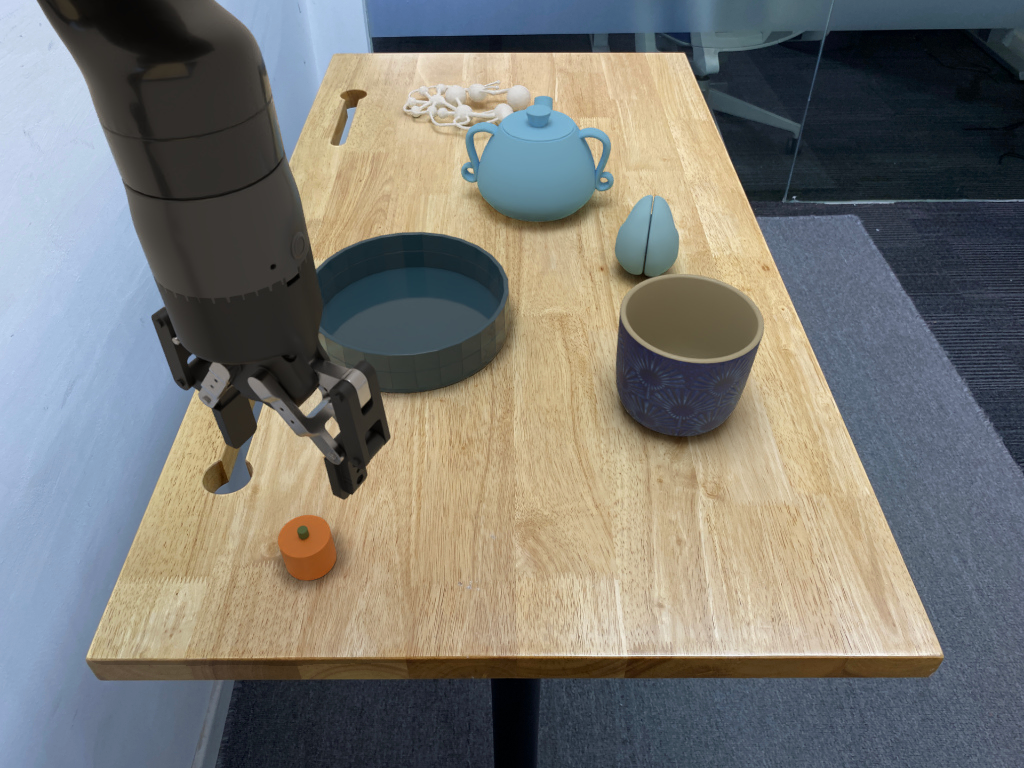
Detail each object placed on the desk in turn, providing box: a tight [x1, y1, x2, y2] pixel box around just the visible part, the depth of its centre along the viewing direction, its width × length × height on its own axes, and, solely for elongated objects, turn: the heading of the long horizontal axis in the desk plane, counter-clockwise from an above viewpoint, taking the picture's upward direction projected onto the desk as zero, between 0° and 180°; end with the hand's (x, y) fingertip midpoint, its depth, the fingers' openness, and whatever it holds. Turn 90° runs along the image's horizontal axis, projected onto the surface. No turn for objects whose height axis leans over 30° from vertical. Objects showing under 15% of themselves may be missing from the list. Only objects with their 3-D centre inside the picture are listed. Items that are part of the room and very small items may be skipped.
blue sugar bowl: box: [460, 95, 615, 223], centre depth 99 cm, size 20×20×13 cm
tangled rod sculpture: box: [402, 79, 532, 131], centre depth 119 cm, size 19×14×4 cm
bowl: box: [316, 231, 510, 394], centre depth 81 cm, size 21×21×5 cm
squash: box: [277, 514, 338, 581], centre depth 60 cm, size 4×4×4 cm
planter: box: [615, 273, 765, 437], centre depth 71 cm, size 12×12×11 cm
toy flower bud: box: [614, 194, 680, 278], centre depth 89 cm, size 7×9×12 cm
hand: (295, 462), depth 49 cm, fingers open, 8 cm apart
